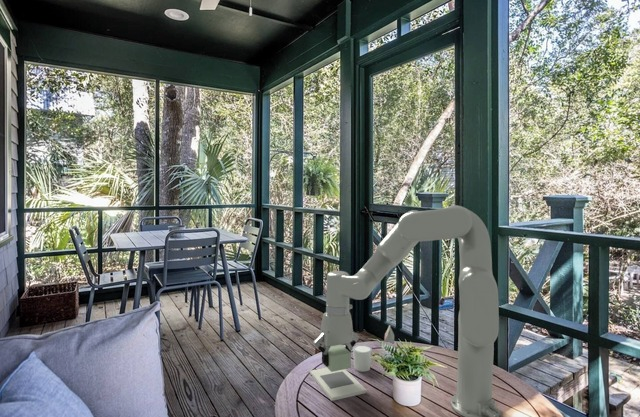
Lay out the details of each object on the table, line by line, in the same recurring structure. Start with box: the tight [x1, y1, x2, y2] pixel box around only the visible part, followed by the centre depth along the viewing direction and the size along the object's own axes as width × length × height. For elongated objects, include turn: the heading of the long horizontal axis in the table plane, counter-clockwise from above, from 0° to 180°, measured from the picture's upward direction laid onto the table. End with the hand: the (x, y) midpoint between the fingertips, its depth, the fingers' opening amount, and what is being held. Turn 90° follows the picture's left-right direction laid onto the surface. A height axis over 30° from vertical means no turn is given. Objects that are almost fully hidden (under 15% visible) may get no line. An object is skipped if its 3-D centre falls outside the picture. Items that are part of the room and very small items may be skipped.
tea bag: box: [383, 324, 395, 345], centre depth 146 cm, size 4×7×10 cm, turn 168°
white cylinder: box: [352, 344, 373, 373], centre depth 133 cm, size 7×7×7 cm
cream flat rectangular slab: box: [309, 367, 367, 402], centre depth 123 cm, size 18×12×1 cm, turn 23°
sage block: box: [326, 345, 352, 372], centre depth 123 cm, size 7×7×5 cm
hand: (336, 362), depth 123 cm, fingers closed on sage block, 7 cm apart
